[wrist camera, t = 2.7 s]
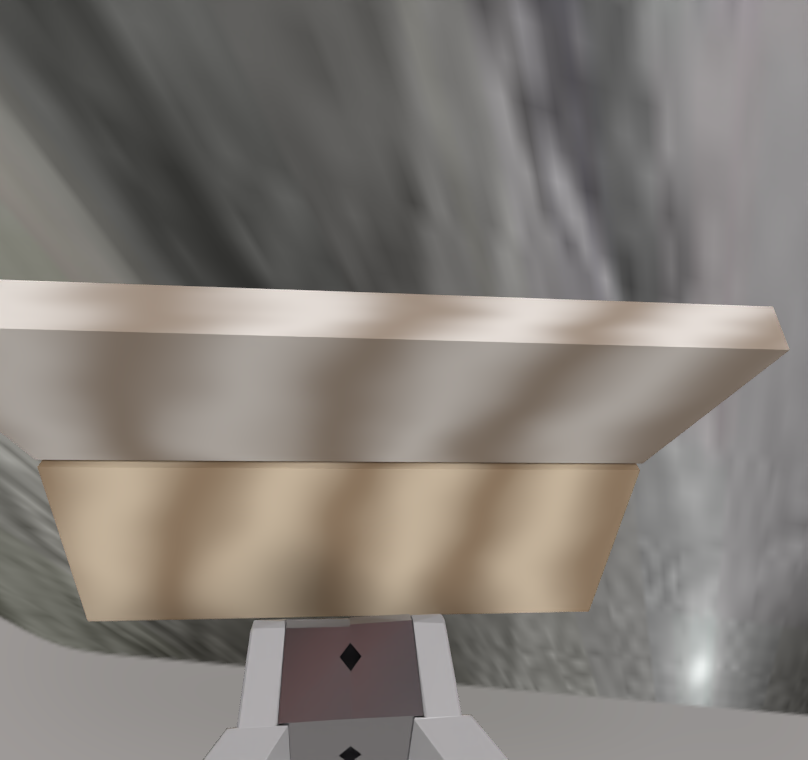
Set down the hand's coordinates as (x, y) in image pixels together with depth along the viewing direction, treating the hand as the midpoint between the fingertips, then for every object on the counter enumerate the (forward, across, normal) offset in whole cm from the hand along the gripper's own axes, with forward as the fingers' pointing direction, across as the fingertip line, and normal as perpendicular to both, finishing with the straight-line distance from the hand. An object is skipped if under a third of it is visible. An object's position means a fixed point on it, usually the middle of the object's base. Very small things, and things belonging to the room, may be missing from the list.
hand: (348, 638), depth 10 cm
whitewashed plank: (+13, -1, +3) cm, 13 cm away
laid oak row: (+16, -1, +13) cm, 21 cm away
